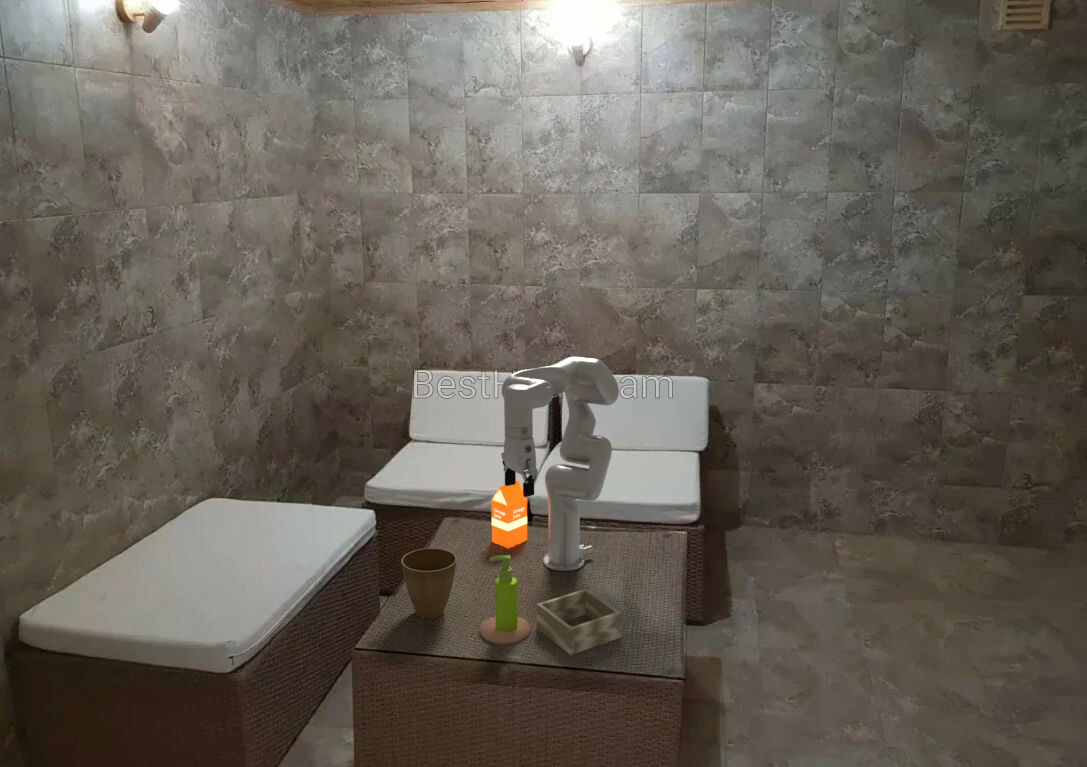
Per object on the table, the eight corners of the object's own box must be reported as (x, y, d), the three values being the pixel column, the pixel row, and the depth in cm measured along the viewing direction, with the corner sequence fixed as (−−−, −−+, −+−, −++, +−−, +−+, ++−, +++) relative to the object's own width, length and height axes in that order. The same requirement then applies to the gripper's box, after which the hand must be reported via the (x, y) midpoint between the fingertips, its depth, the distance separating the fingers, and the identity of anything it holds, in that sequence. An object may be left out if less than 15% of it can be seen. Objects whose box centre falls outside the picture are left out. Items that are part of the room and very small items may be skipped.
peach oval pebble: (513, 614, 247) (513, 610, 247) (539, 635, 237) (538, 631, 236) (471, 627, 241) (471, 623, 240) (495, 649, 230) (495, 645, 230)
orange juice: (527, 540, 295) (527, 482, 290) (508, 548, 289) (507, 490, 284) (510, 533, 300) (510, 477, 295) (491, 541, 294) (490, 484, 289)
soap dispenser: (491, 621, 241) (489, 552, 237) (516, 619, 242) (515, 551, 237) (492, 632, 236) (490, 562, 231) (518, 631, 236) (517, 560, 231)
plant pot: (435, 631, 239) (433, 575, 235) (392, 616, 247) (389, 562, 243) (469, 607, 251) (467, 554, 247) (427, 594, 259) (425, 543, 255)
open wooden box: (586, 611, 249) (586, 588, 247) (621, 637, 236) (621, 612, 234) (536, 627, 240) (536, 603, 239) (570, 655, 227) (570, 629, 226)
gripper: (547, 436, 237) (548, 497, 241) (514, 420, 251) (515, 478, 256) (523, 441, 233) (524, 503, 238) (490, 424, 247) (491, 483, 252)
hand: (519, 490), depth 247 cm, fingers open, 9 cm apart
